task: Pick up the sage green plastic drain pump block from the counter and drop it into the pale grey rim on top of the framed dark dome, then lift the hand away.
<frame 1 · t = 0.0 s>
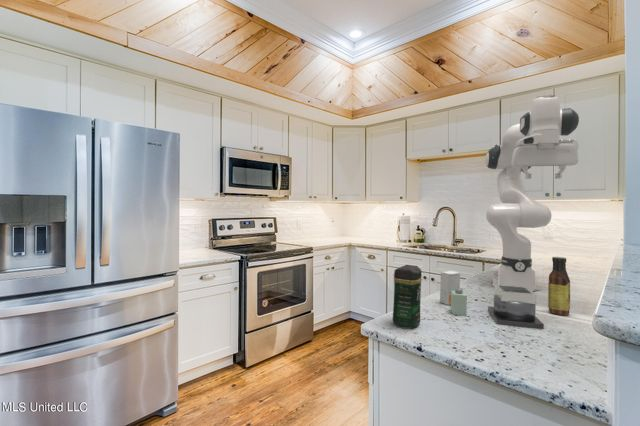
hand: (543, 178, 119), 48 cm above the counter, tool pointing down, fingers open, 8 cm apart
sauce bottle: (558, 313, 115), on the counter
drain pump: (458, 312, 115), on the counter
coffee jar: (406, 324, 104), on the counter
framed dark dome: (513, 319, 109), on the counter
skincare box: (449, 303, 126), on the counter
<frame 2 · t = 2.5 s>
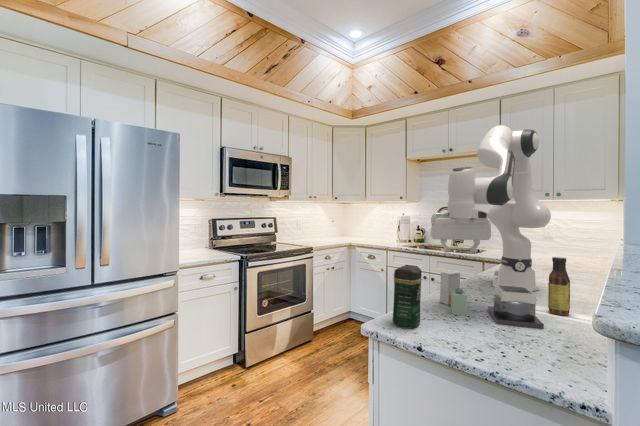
hand: (459, 252, 114), 21 cm above the counter, tool pointing down, fingers open, 8 cm apart
nothing on the counter moved.
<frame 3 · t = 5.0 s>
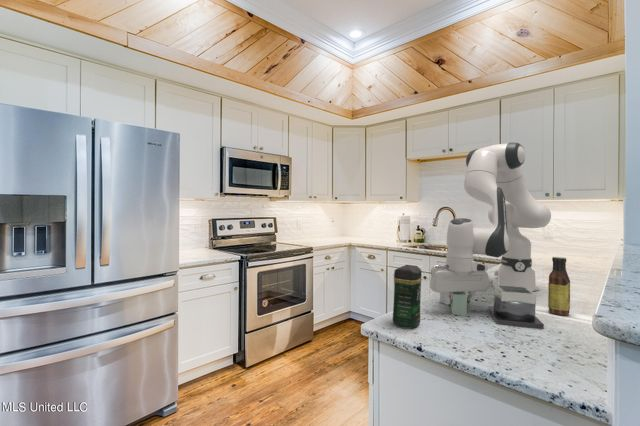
hand: (458, 303, 115), 3 cm above the counter, tool pointing down, fingers closed on drain pump, 6 cm apart
drain pump: (458, 312, 115), on the counter, touching gripper
everything else where it was.
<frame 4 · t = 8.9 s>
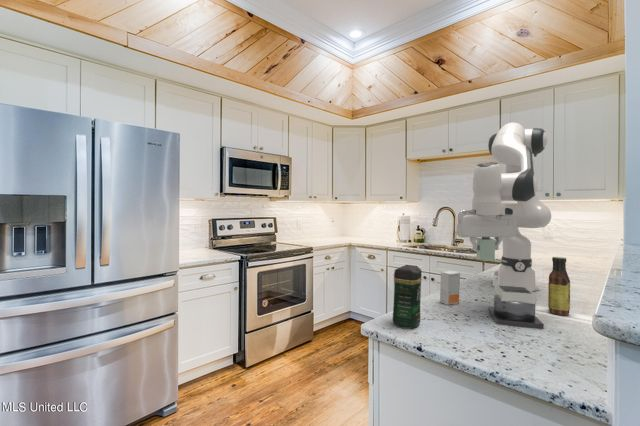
hand: (485, 250, 112), 23 cm above the counter, tool pointing down, fingers closed on drain pump, 6 cm apart
drain pump: (485, 259, 112), point 19 cm above the counter, touching gripper
everything else where it was.
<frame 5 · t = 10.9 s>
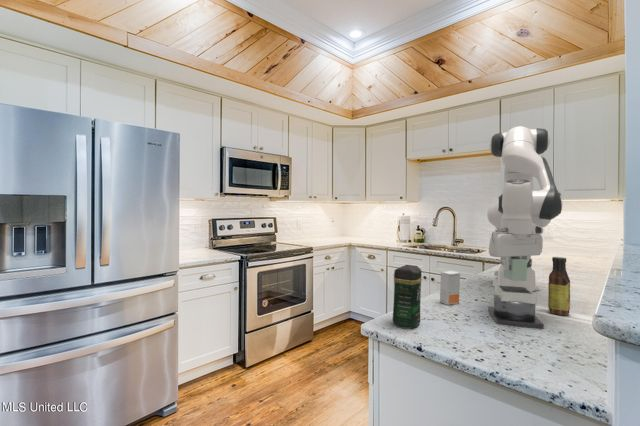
hand: (514, 269, 108), 17 cm above the counter, tool pointing down, fingers closed on drain pump, 6 cm apart
drain pump: (514, 278, 108), point 14 cm above the counter, touching gripper
everything else where it was.
when the fingers open (12 cm above the counter, at t = 12.7 s): drain pump drops 1 cm, resting on framed dark dome.
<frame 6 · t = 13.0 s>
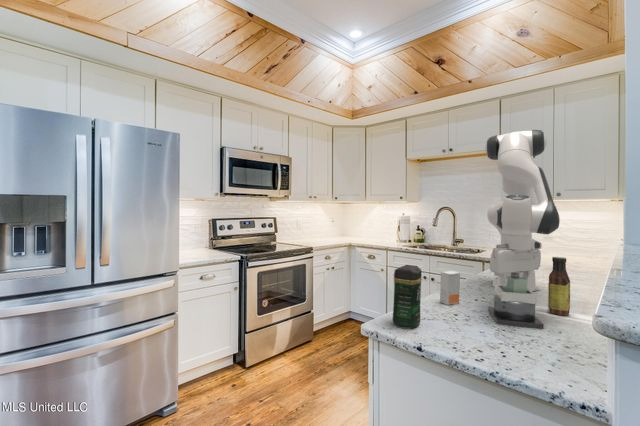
hand: (514, 284, 109), 12 cm above the counter, tool pointing down, fingers open, 8 cm apart
drain pump: (514, 298, 109), point 7 cm above the counter, touching framed dark dome
everything else where it was.
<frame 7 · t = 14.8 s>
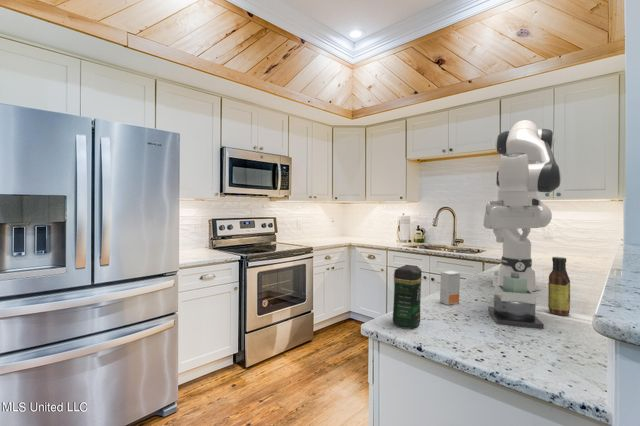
hand: (511, 241, 110), 26 cm above the counter, tool pointing down, fingers open, 8 cm apart
nothing on the counter moved.
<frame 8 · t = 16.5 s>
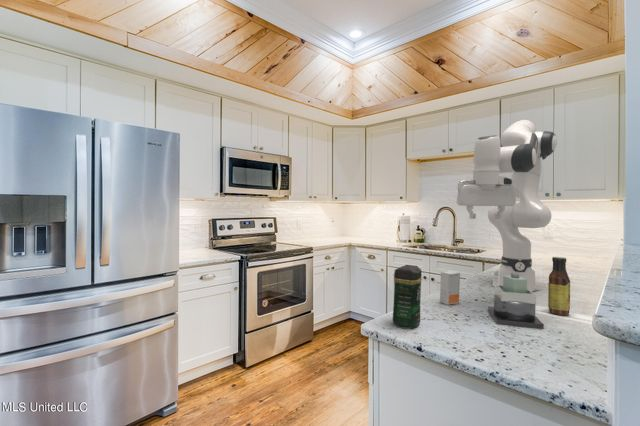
hand: (485, 218, 118), 33 cm above the counter, tool pointing down, fingers open, 8 cm apart
nothing on the counter moved.
at the end: drain pump 0.1 cm off-centre on the framed dark dome, point 7.0 cm above the framed dark dome's base; drain pump tilted 0°; the gripper is holding nothing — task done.
